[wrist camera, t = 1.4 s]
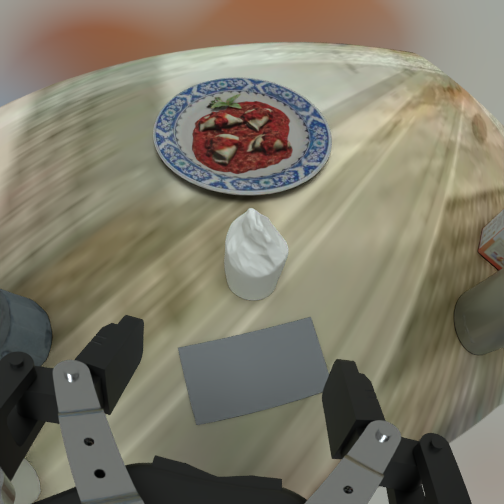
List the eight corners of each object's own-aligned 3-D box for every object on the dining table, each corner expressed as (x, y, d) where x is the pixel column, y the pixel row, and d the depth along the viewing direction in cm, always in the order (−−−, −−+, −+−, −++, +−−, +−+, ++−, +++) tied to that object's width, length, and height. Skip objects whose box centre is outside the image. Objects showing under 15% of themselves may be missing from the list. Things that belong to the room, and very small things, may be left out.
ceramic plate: (352, 196, 41) (360, 183, 39) (155, 216, 37) (151, 202, 35) (300, 86, 52) (303, 73, 50) (157, 94, 48) (155, 80, 46)
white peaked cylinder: (316, 224, 24) (261, 266, 22) (287, 281, 35) (247, 313, 33) (264, 174, 26) (209, 208, 24) (251, 243, 37) (212, 271, 35)
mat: (309, 317, 33) (310, 316, 33) (332, 388, 30) (333, 388, 30) (178, 348, 30) (178, 347, 30) (196, 424, 27) (196, 425, 27)
